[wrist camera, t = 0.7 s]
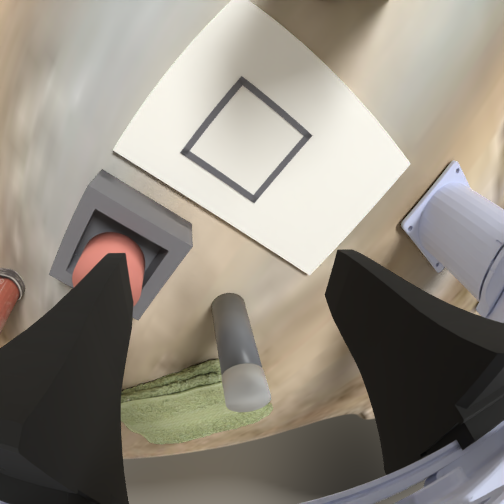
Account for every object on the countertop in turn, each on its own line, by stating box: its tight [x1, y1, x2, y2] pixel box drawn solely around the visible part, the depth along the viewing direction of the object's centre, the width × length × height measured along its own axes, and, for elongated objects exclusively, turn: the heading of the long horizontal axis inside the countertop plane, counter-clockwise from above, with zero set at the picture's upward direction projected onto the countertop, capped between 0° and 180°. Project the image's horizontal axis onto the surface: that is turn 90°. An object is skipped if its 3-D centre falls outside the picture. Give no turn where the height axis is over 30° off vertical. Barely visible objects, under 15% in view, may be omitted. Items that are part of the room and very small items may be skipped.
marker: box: [212, 293, 271, 412], centre depth 21 cm, size 3×3×9 cm
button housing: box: [49, 169, 193, 320], centre depth 18 cm, size 7×7×3 cm
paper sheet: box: [113, 0, 410, 275], centre depth 18 cm, size 17×12×1 cm
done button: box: [72, 232, 145, 307], centre depth 16 cm, size 4×4×2 cm
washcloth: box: [121, 359, 273, 444], centre depth 30 cm, size 13×18×3 cm
